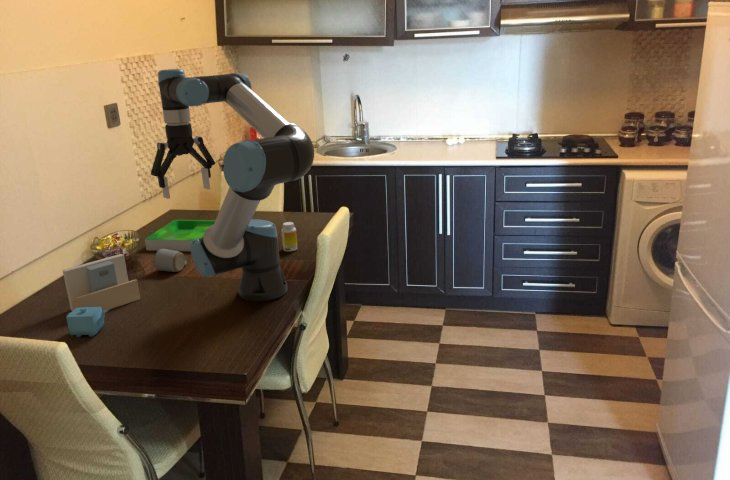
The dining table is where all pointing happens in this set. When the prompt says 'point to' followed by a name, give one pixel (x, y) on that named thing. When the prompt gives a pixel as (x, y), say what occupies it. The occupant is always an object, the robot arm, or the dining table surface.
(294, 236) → the supplement bottle
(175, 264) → the grey cylinder
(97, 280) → the grey block
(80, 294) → the board
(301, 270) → the dining table surface
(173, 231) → the tray
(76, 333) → the light blue rounded block
